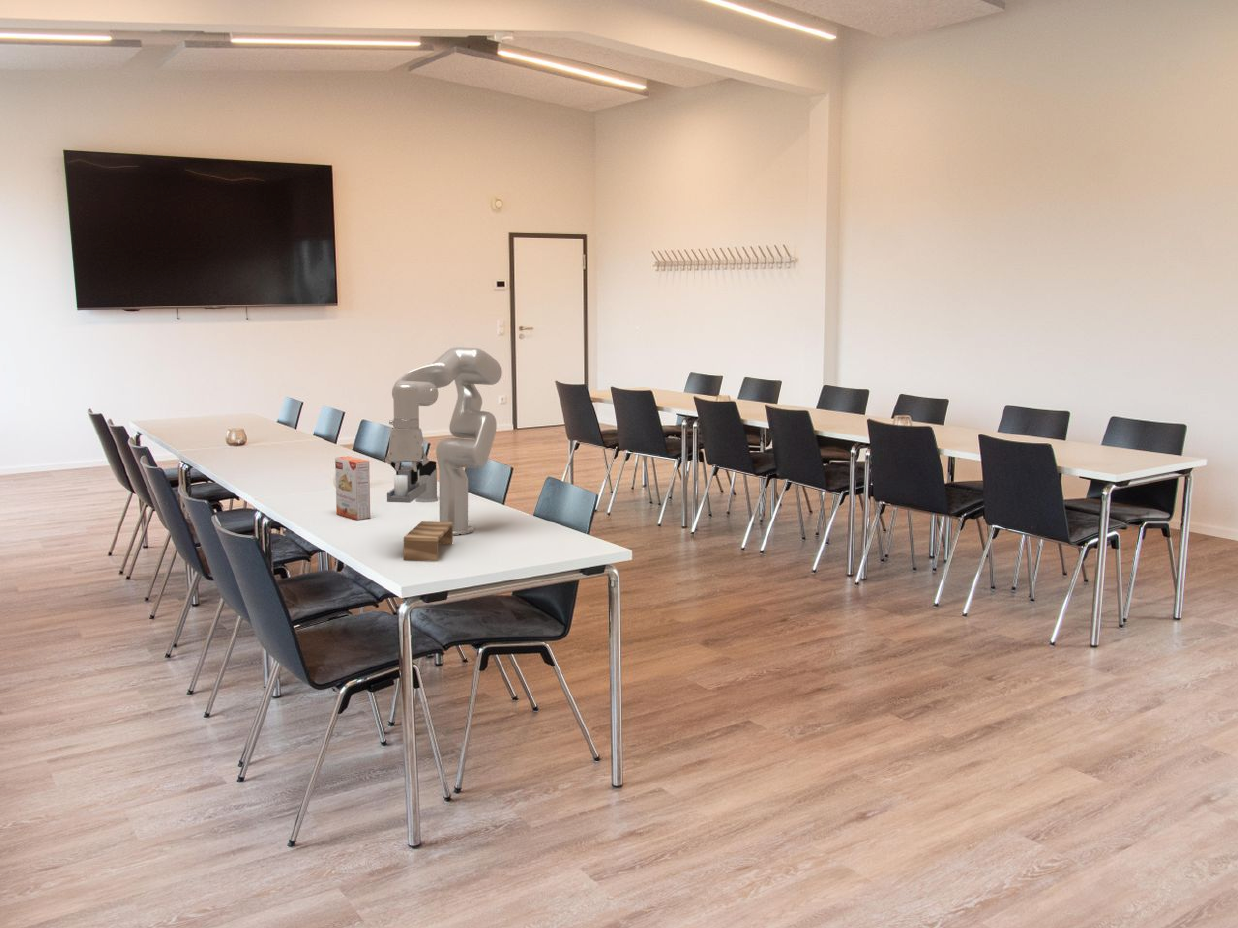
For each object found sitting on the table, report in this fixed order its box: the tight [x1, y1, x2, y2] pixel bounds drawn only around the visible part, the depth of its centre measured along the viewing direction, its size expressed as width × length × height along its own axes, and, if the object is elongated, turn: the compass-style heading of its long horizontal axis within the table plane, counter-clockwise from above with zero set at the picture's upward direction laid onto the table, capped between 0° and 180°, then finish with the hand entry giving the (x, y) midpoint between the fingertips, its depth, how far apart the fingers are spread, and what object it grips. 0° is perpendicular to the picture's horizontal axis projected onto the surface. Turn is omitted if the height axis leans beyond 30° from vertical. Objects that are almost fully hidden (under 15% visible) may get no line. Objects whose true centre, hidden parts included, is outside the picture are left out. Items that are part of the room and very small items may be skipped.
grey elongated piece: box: [386, 466, 426, 503], centre depth 326 cm, size 20×7×8 cm, turn 176°
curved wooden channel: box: [403, 520, 454, 562], centre depth 327 cm, size 24×10×7 cm, turn 178°
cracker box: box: [334, 456, 371, 521], centre depth 377 cm, size 14×6×21 cm, turn 45°
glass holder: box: [401, 460, 439, 503], centre depth 412 cm, size 9×14×15 cm, turn 89°
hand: (407, 483), depth 326 cm, fingers closed on grey elongated piece, 3 cm apart
